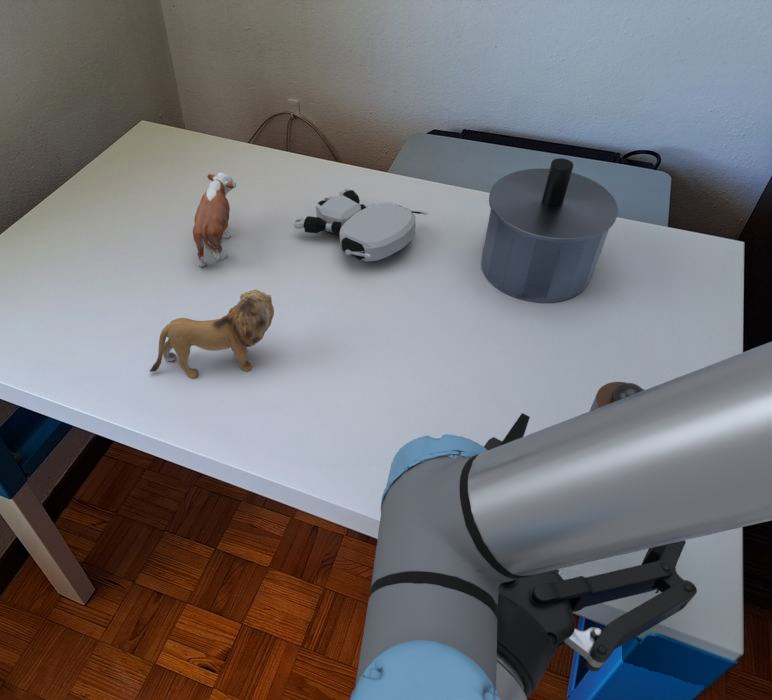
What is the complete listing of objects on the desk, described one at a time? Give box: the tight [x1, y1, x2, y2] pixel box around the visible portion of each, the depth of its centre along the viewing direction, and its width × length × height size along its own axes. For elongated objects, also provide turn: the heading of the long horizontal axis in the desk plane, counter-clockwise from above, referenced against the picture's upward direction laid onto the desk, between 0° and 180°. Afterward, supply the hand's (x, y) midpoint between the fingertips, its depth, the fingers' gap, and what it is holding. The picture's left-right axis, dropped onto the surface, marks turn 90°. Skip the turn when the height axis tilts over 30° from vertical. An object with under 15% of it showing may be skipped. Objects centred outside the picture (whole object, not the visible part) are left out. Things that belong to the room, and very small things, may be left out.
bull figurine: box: [192, 171, 237, 268], centre depth 91 cm, size 4×13×8 cm, turn 170°
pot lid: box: [488, 157, 619, 242], centre depth 79 cm, size 15×15×6 cm
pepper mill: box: [589, 381, 645, 411], centre depth 60 cm, size 5×5×14 cm
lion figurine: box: [149, 289, 275, 379], centre depth 75 cm, size 15×5×9 cm, turn 104°
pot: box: [480, 209, 609, 304], centre depth 84 cm, size 14×14×10 cm
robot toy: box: [293, 188, 430, 263], centre depth 92 cm, size 12×4×15 cm
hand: (596, 460), depth 59 cm, fingers open, 13 cm apart
